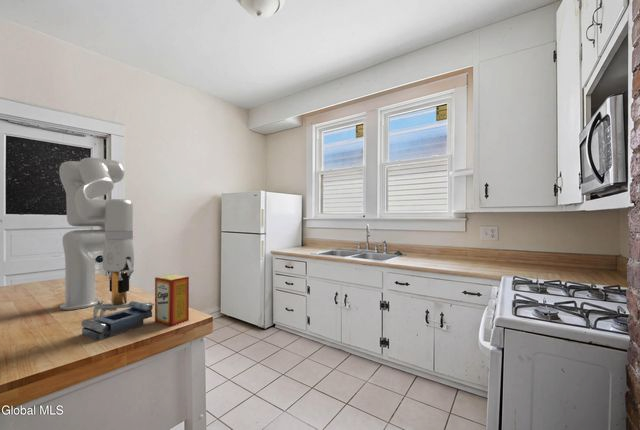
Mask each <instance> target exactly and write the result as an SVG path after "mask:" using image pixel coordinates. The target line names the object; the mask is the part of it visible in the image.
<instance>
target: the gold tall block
mask: <svg viewBox="0 0 640 430" xmlns="http://www.w3.org/2000/svg"><path fill="white" fill-rule="evenodd" d="M123 270H126V268H124V269H123ZM123 270H122V271H123ZM124 273H125V272H122V274H124ZM118 281H120V280H119V272H113V271H112V292H111V303H112V305H113V306H117V305H123V304H128V302H127V301H128V299H127V297H128V295H127V294H128V293H127V292H128V291H127V292H123V293H118Z"/></svg>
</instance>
